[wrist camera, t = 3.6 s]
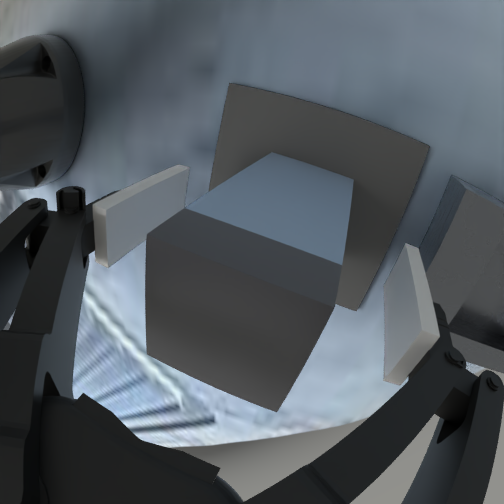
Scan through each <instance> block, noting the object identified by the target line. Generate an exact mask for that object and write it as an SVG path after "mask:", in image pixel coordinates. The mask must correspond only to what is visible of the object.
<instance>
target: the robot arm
mask: <svg viewBox="0 0 504 504" xmlns="http://www.w3.org/2000/svg"><path fill="white" fill-rule="evenodd" d="M83 120H84V88H83V81H82V75H81V71H80V67H79V64H78V61H77V59H76V56H75V54H74V52H73V51H72V49H71V48H70V46H69V45H68V44H67V43H66V42H65V41H64V40H63V39H61V38H59V37H57V36H54V35H33V36H28V37H24V38H22V39H19V40H17V41H15V42H12V43H10V44H8V45H6V46H4V47H1V48H0V191H2V190H19V189H34V188H38V187H41V186H43V185H45V184H48V183H50V182H52V181H55V180H57V179H58V178H60V177H61V176H62V175H63V174H64V173H65V172H66V171H67V170H68V168H69V167H70V165H71V163H72V162H73V159H74V157H75V155H76V152H77V149H78V146H79V143H80V139H81V134H82V129H83ZM189 171H190V167H186V166H183V165H179V164H177V165H175V166H173V167H170V168H168V169H166V170H164V171H161V172H159V173H157V174H155V175H152V176H150V177H148V178H146V179H144V180H141V181H139V182H137V183H135V184H133V185H131V186H129V187H126V188H124V189H122V190H118V191H114V192H112V193H110V194H108V195H107V196H104V197H102V198H101V199H98V200H96V201H94V202H92V203H90V204H88V205H86V203H85V189H84V188H82V187H78V186H69V187H65V188H62V189H60V190H58V191H57V192H56V198H57V212H56V211H50V210H48V208H47V201H46V200H45V199H41V198H33V199H30V200H28V201H26V202H24V203H23V204H22V205H21V206H20V207H18V208H17V209H16V210H15V211H14V212H13V213H12V214H11V215H10V216H8V217H7V218H6V219H5V220H4V221H3V222H2V223H1V224H0V504H350V503H351V502H352V501H353V500H354V499H355V498H356V497H357V496H359V495H360V494H361V493H362V492H363V491H364V490H365V489H366V488H367V487H368V486H369V485H370V484H371V483H373V482H374V481H375V480H376V479H377V478H378V477H379V476H380V475H381V473H383V472H384V471H385V470H386V469H387V468H388V467H389V466H390V465H391V464H392V462H393V461H394V460H395V459H396V458H397V457H398V456H399V455H400V454H401V453H402V452H403V451H404V449H405V448H406V447H407V446H408V445H409V444H410V443H411V442H412V440H413V439H414V438H415V437H416V436H417V434H418V433H419V432H420V431H421V430H422V428H423V427H424V426H425V425H426V423H427V422H428V421H429V420H430V418H431V417H432V416H433V415H434V414H436V415H437V416H439V417H440V419H439V422H438V424H437V427H436V430H435V432H434V435H433V437H432V440H431V442H430V445H429V447H428V450H427V453H426V454H425V457H424V459H423V461H422V464H421V466H420V468H419V470H418V472H417V474H416V477H415V479H414V481H413V483H412V485H411V487H410V489H409V491H408V492H407V494H406V496H405V498H404V500H403V502H402V504H483V501H484V498H485V494H486V491H487V488H488V484H489V480H490V476H491V472H492V468H493V463H494V459H495V454H496V449H497V444H498V438H499V432H500V426H501V419H502V411H503V402H504V385H503V383H502V380H501V379H500V377H499V376H498V375H496V374H495V373H494V372H492V371H489V370H485V371H484V372H482V374H481V375H480V376H479V377H477V376H476V375H474V374H473V373H471V372H469V371H468V370H467V369H465V368H466V360H465V358H464V357H463V355H462V354H461V353H460V351H459V350H457V349H456V348H455V347H453V345H452V340H451V335H450V331H449V329H448V328H449V327H448V323H447V319H446V315H445V312H444V310H443V309H442V307H441V306H440V304H438V303H435V302H433V301H432V297H431V293H430V289H429V285H428V281H427V277H426V274H425V270H424V266H423V263H422V259H421V256H420V252H419V249H418V248H416V247H414V246H412V245H409V244H407V243H405V245H404V247H403V249H402V251H401V253H400V255H399V257H398V259H397V261H396V263H395V265H394V267H393V269H392V271H391V273H390V275H389V277H388V279H387V281H386V283H385V285H384V314H385V349H384V380H383V381H387V382H390V383H393V384H396V385H401V384H402V383H403V382H404V381H405V379H406V378H407V377H408V376H409V381H408V382H407V383H406V384H405V385H404V386H403V387H402V388H401V389H400V390H399V391H398V392H397V393H396V394H395V395H394V396H392V397H391V398H390V399H389V400H388V401H387V402H386V403H385V404H384V405H383V406H382V407H381V408H379V409H378V410H377V411H376V412H375V413H374V414H373V415H371V416H370V417H369V418H368V419H367V420H366V421H365V422H363V423H362V424H361V425H360V426H359V427H357V428H356V429H355V430H354V431H352V432H351V433H350V434H349V435H348V436H346V437H345V438H344V439H342V440H341V441H340V442H339V443H337V444H336V445H335V446H333V447H332V448H331V449H329V450H328V451H327V452H325V453H324V454H322V455H321V456H320V457H318V458H317V459H316V460H314V461H313V462H311V463H310V464H308V465H305V466H303V467H302V468H300V469H298V470H297V471H295V472H294V473H292V474H291V475H289V476H287V477H286V478H284V479H283V480H281V481H279V482H278V483H276V484H275V485H273V486H271V487H270V488H268V489H266V490H264V491H263V492H261V493H259V494H257V495H256V496H254V497H252V498H250V499H248V500H247V501H245V502H243V500H242V499H241V497H240V496H239V495H238V493H237V492H236V491H235V490H234V489H233V488H232V487H231V486H230V485H229V484H228V483H227V482H225V481H224V480H223V479H221V478H220V477H219V476H217V474H218V472H219V470H220V468H219V467H217V466H214V465H212V464H210V463H207V462H205V461H203V460H200V459H198V458H196V457H194V456H192V455H189V454H187V453H185V452H183V451H179V450H175V449H171V448H167V447H163V446H160V445H156V444H152V443H149V442H145V441H142V440H140V439H139V438H138V437H137V436H136V435H134V434H133V433H132V432H131V431H130V430H129V429H128V428H127V427H126V426H125V425H124V424H123V423H122V422H121V421H120V420H119V419H118V418H117V417H116V416H115V415H114V414H113V413H112V412H111V411H110V410H108V409H106V408H105V407H103V406H102V405H100V404H99V403H97V402H96V401H94V400H93V399H91V398H90V397H88V396H87V395H86V394H84V393H83V394H82V395H81V396H80V397H79V398H78V399H74V398H73V391H72V382H73V369H74V358H75V348H76V339H77V331H78V324H79V317H80V310H81V304H82V298H83V292H84V286H85V281H86V276H87V271H88V266H89V254H90V253H92V252H93V251H94V250H95V260H96V262H97V263H99V264H101V265H103V266H105V267H107V268H109V267H111V266H112V265H113V264H114V263H116V262H117V261H118V260H120V259H121V258H122V257H124V256H125V255H126V254H127V253H129V252H130V251H131V250H133V249H134V248H135V247H137V246H138V245H139V244H141V243H142V242H143V241H145V240H146V238H147V234H148V233H149V232H151V231H152V230H153V229H155V228H156V227H158V226H159V225H160V224H162V223H163V222H165V221H166V220H168V219H169V218H171V217H172V216H173V215H175V214H176V213H178V212H179V211H181V210H182V209H184V207H185V199H186V192H187V185H188V177H189ZM25 240H26V243H27V247H26V248H25ZM15 309H16V310H15ZM14 311H15V313H14V316H13V319H12V323H11V326H10V329H9V330H3V329H4V327H5V326H6V324H7V322H8V321H9V319H10V317H11V316H12V314H13V312H14Z"/></svg>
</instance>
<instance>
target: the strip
mask: <svg viewBox="0 0 504 504" xmlns="http://www.w3.org/2000/svg"><path fill="white" fill-rule="evenodd" d="M419 252H420V256H421V259H422V263H423V266H424V270H425V274H426V277H427V281H428V285H429V289H430V293H431V297H432V301H433V302H435V303H438V304H440V306H441V307H442V309H443V310H444V312H445V315H446V319H447V323H448V327H449V328H448V329H449V331H450V335H451V340H452V345H453V347H455V348H456V349H457V350H459V351H460V353H461V354H462V355H463V357H464V358H465V360H466V362H469V363H472V364H476V365H479V366H482V367H485V368H489V369H491V370H495V371H498V372H501V373H504V203H503V202H502V201H500V200H498V199H496V198H495V197H493V196H491V195H489V194H487V193H486V192H484V191H482V190H480V189H478V188H476V187H475V186H473V185H471V184H469V183H467V182H465V181H463V180H461V179H459V178H457V177H455V176H453V175H451V178H450V180H449V183H448V185H447V188H446V190H445V193H444V195H443V197H442V200H441V202H440V205H439V207H438V209H437V211H436V214H435V216H434V218H433V220H432V222H431V225H430V227H429V229H428V231H427V233H426V235H425V237H424V239H423V242H422V244H421V246H420V248H419Z"/></svg>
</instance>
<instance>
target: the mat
mask: <svg viewBox="0 0 504 504" xmlns="http://www.w3.org/2000/svg"><path fill="white" fill-rule="evenodd" d="M429 147H430V146H428V145H426V144H424V143H422V142H419V141H417V140H415V139H412V138H410V137H408V136H405V135H403V134H401V133H398V132H396V131H393V130H391V129H388V128H386V127H383V126H380V125H378V124H375V123H372V122H370V121H367V120H364V119H361V118H359V117H356V116H353V115H350V114H347V113H344V112H341V111H338V110H335V109H332V108H328V107H325V106H322V105H319V104H315V103H312V102H308V101H305V100H301V99H297V98H294V97H290V96H286V95H282V94H278V93H274V92H270V91H266V90H261V89H257V88H252V87H247V86H243V85H238V84H232V83H229V87H228V92H227V97H226V101H225V106H224V111H223V116H222V121H221V126H220V131H219V136H218V142H217V147H216V152H215V158H214V163H213V169H212V174H211V180H210V186H209V191H211V190H212V189H214V188H215V187H217V186H218V185H220V184H222V183H223V182H225V181H226V180H228V179H229V178H231V177H232V176H234V175H236V174H237V173H239V172H240V171H242V170H244V169H245V168H247V167H248V166H250V165H252V164H253V163H255V162H257V161H258V160H260V159H262V158H263V157H265V156H266V155H268V154H270V153H271V152H273V153H276V154H279V155H283V156H286V157H289V158H292V159H295V160H298V161H302V162H305V163H308V164H311V165H314V166H317V167H320V168H322V169H325V170H328V171H331V172H334V173H337V174H340V175H342V176H345V177H348V178H351V179H353V180H354V182H353V191H352V200H351V208H350V216H349V223H348V230H347V237H346V244H345V251H344V257H343V263H342V269H341V275H340V281H339V286H338V292H337V297H336V303H335V304H337V305H340V306H343V307H345V308H348V309H351V310H354V311H357V309H358V307H359V306H360V304H361V302H362V300H363V298H364V296H365V294H366V292H367V290H368V288H369V287H370V285H371V283H372V281H373V279H374V277H375V275H376V273H377V271H378V269H379V267H380V265H381V262H382V260H383V258H384V256H385V254H386V252H387V250H388V248H389V246H390V243H391V241H392V239H393V237H394V235H395V232H396V230H397V228H398V226H399V223H400V221H401V219H402V217H403V214H404V212H405V209H406V207H407V205H408V202H409V200H410V197H411V195H412V192H413V190H414V187H415V185H416V182H417V180H418V177H419V175H420V172H421V169H422V167H423V164H424V161H425V158H426V156H427V153H428V150H429Z"/></svg>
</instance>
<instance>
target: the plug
mask: <svg viewBox="0 0 504 504" xmlns="http://www.w3.org/2000/svg"><path fill="white" fill-rule="evenodd" d="M353 182H354V180H353V179H351V178H348V177H345V176H342V175H340V174H337V173H334V172H331V171H328V170H325V169H322V168H320V167H317V166H314V165H311V164H308V163H305V162H302V161H298V160H295V159H292V158H289V157H286V156H283V155H279V154H276V153H273V152H271V153H270V154H268V155H266V156H265V157H263V158H262V159H260V160H258V161H257V162H255V163H253V164H252V165H250V166H248V167H247V168H245V169H244V170H242V171H240V172H239V173H237V174H236V175H234V176H232V177H231V178H229V179H228V180H226V181H225V182H223V183H222V184H220V185H218V186H217V187H215V188H214V189H212V190H211V191H209V192H208V193H206V194H205V195H203V196H202V197H200V198H199V199H197V200H196V201H194V202H193V203H191V204H190V205H188V206H187V207H185V208H184V209H182V210H181V211H179V212H178V213H176V214H175V215H173V216H172V217H171V218H169V219H168V220H166V221H165V222H163V223H162V224H160V225H159V226H158V227H156V228H155V229H153V230H152V231H151V232H149V233H148V234H147V238H146V274H145V310H146V346H147V355H149V356H151V357H153V358H155V359H157V360H159V361H161V362H163V363H165V364H167V365H169V366H171V367H173V368H175V369H177V370H179V371H181V372H183V373H185V374H187V375H189V376H191V377H193V378H195V379H198V380H200V381H202V382H204V383H206V384H208V385H211V386H213V387H215V388H217V389H220V390H222V391H224V392H227V393H229V394H231V395H234V396H236V397H239V398H241V399H244V400H246V401H248V402H251V403H254V404H256V405H259V406H261V407H264V408H267V409H269V410H272V411H275V412H277V411H278V410H279V408H280V407H281V405H282V403H283V402H284V400H285V398H286V396H287V395H288V393H289V391H290V390H291V388H292V386H293V384H294V383H295V381H296V379H297V377H298V376H299V374H300V372H301V370H302V369H303V367H304V365H305V363H306V361H307V359H308V358H309V356H310V354H311V352H312V350H313V348H314V346H315V345H316V343H317V341H318V339H319V337H320V335H321V333H322V331H323V329H324V327H325V325H326V323H327V321H328V319H329V317H330V316H331V314H332V311H333V309H334V307H335V303H336V297H337V292H338V286H339V281H340V275H341V269H342V263H343V257H344V251H345V244H346V237H347V230H348V223H349V216H350V208H351V200H352V191H353Z"/></svg>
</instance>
